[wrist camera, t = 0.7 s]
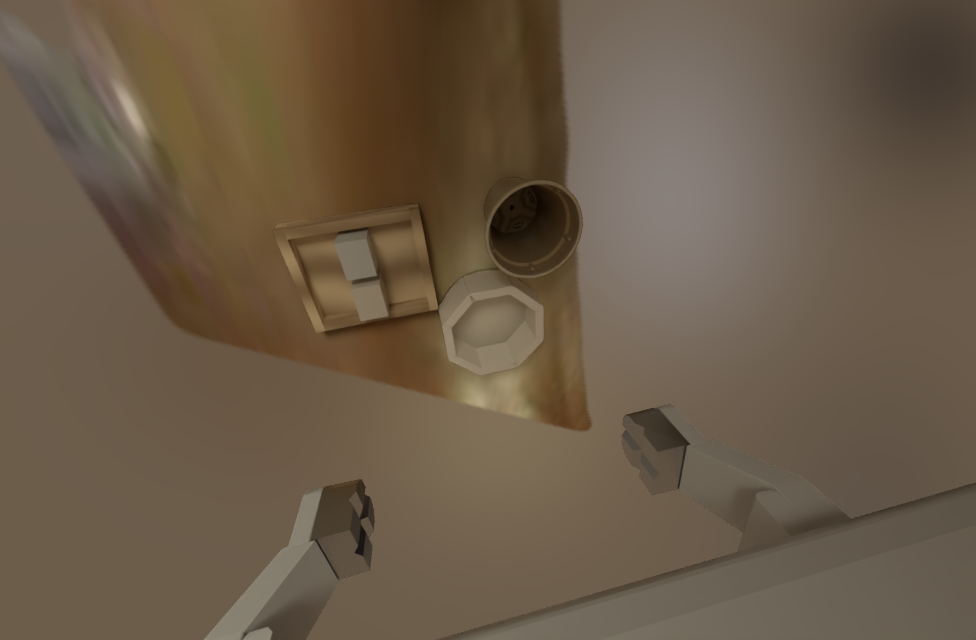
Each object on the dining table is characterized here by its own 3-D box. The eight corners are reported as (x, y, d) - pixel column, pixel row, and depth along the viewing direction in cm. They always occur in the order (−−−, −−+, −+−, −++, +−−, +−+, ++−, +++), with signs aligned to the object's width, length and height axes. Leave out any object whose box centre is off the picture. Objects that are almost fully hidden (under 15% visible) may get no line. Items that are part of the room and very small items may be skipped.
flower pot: (511, 261, 45) (533, 295, 38) (451, 213, 40) (464, 242, 33) (566, 200, 42) (601, 224, 35) (509, 141, 38) (537, 156, 30)
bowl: (432, 278, 44) (436, 300, 40) (529, 261, 45) (543, 280, 41) (447, 356, 50) (452, 381, 46) (531, 338, 52) (543, 361, 48)
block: (352, 274, 41) (350, 289, 38) (380, 270, 41) (379, 284, 38) (362, 305, 43) (360, 321, 40) (388, 300, 43) (388, 316, 41)
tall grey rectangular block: (338, 231, 38) (334, 243, 35) (368, 226, 38) (366, 238, 35) (350, 266, 40) (347, 281, 37) (377, 261, 41) (377, 275, 38)
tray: (278, 224, 37) (272, 231, 35) (417, 202, 39) (419, 208, 37) (319, 322, 44) (316, 332, 42) (436, 300, 45) (438, 309, 44)
